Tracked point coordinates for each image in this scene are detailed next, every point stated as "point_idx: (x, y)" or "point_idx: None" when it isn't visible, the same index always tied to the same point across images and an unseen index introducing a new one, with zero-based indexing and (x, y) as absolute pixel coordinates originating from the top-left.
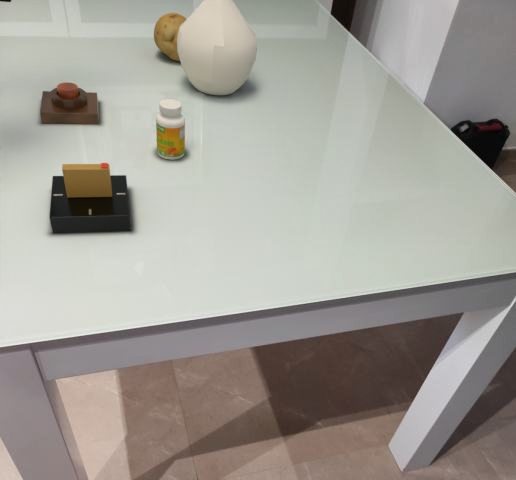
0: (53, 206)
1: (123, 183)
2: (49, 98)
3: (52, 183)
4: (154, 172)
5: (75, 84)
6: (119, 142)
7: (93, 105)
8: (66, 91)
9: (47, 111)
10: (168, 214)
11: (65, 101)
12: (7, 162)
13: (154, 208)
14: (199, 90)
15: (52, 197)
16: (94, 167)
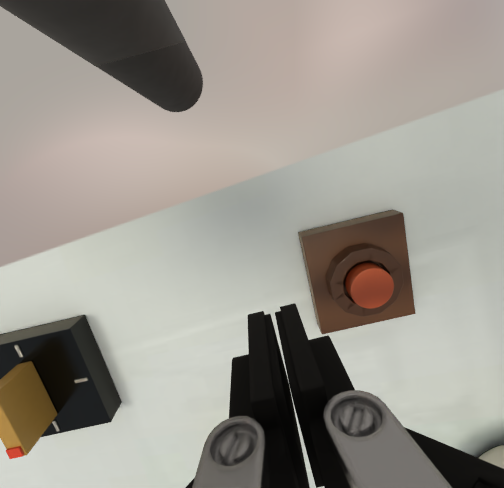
0: None
1: (86, 423)
2: (368, 236)
3: (47, 334)
4: (182, 425)
5: (385, 301)
6: None
7: (354, 320)
8: (349, 291)
9: (309, 249)
10: (82, 455)
11: (330, 286)
12: (144, 219)
13: (90, 438)
14: (482, 454)
15: (10, 344)
16: (5, 439)
